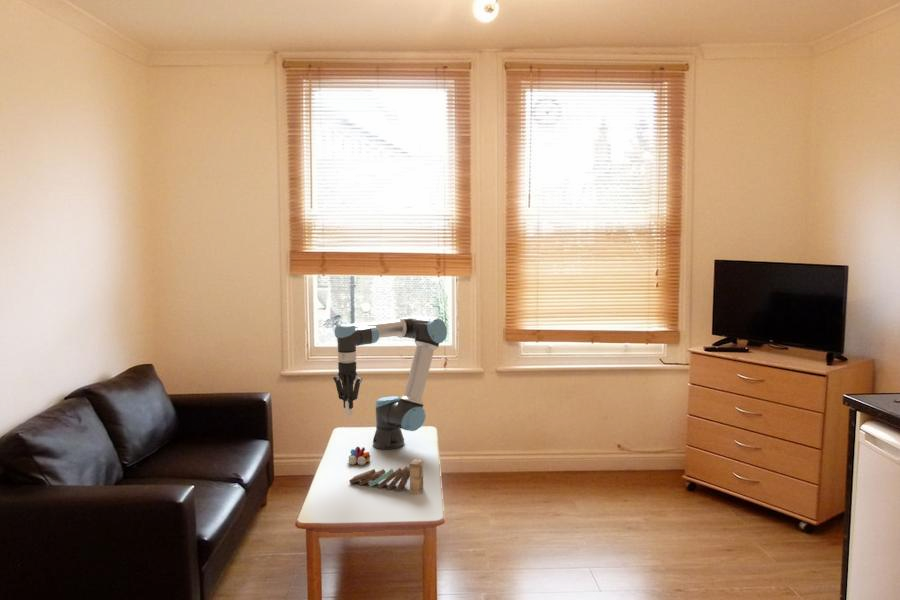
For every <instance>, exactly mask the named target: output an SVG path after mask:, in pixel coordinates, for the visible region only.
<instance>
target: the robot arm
mask: <svg viewBox="0 0 900 600" xmlns="http://www.w3.org/2000/svg"><path fill="white" fill-rule="evenodd" d="M447 328H448V327H447V326H446V322H444V320H442V319H441V318H439V317H434V316H424V315H412V316H405V317H397V318H395V319H393V320H385V321H384V320H383V321H382V320H381V321H372V322H371V321H370V322H359V323H344V322H343V323H339V324H338V325H336V327H335V328H334V336H335V338H336V339H337V359H338V360H337V361H338V362H337V364H338V365H337V366H338V367H337V368H338V373H337V375H335V376H334V377H332V380H333V381H334V383H335V387H336V390H337V394H338V399H339V400H342V402H343V409H345V418H346V417H347V418H348V417H351V416H352V415H353V412H352V410H353V408H354V401H356V400H357V399H358V396H359V390H360V387H361V383H362V381H363V378H362V377H359V376H358V373H357V362H356V360H357V347H358V346H364V345H369V344H370V345H371V344H375V343H377V342H378V341H379V339H381V338H388V337H389V338H390V337H397V338H406V339H407V338H408V339H414V343H415V345H416V348H415V350H414V354H413V359H412V363H411V367H410V370H409V375H408V378H407V382H406V385H405V388H404V389H405V390H404V393H403V395H402V396H397V395H394V396H393V395H392V396H384V397H380V398H378V399H377V400H376V401H375V427H376V428H375V431H374V436H373V439H372V445H373V446H372V447H374V448H376V449H379V450H396V449H399V448H401V447H403V446H404V445H405V438H404V434H403V432H402V430H404V431H409V432H416V431H418V430H419V429H420V428H422V427H423V425H424V423H425V420H426V410H425V408H423V407H424V402H423V401H422V399H423V395H424V391H425V387H426V383H427V379H428V376H429V371H430V368H431V364H432V361H433V358H434V357H433V355H434V352H435V351H436V350H437V349H439V346H440V344H441V343H443V342H444V341H445V340H446V339H447V336H448V329H447ZM354 381H355V382H354Z"/></svg>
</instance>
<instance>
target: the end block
mask: <svg viewBox="0 0 900 600" xmlns="http://www.w3.org/2000/svg"><path fill="white" fill-rule="evenodd" d="M409 466H410V477H409V494H413V495H419V494H420V493H421V492H422V491H423V490H424V460H423V459H418V458H417V459H412V461H411V462H409Z"/></svg>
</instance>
